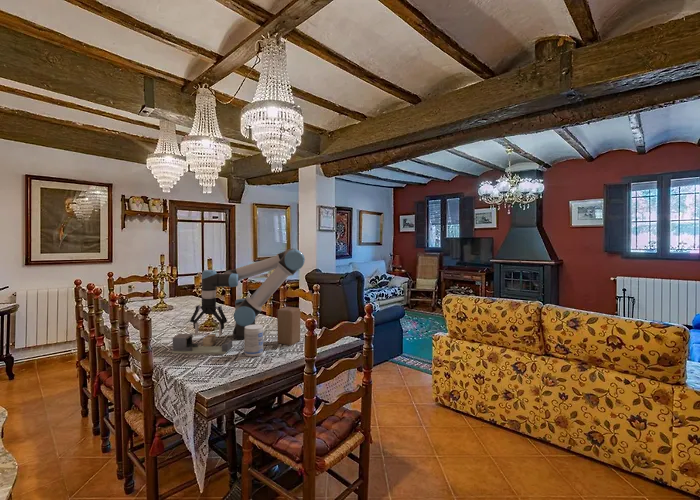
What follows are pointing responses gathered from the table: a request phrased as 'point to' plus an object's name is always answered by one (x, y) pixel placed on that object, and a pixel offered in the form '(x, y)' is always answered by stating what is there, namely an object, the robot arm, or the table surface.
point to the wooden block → (288, 325)
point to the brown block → (209, 340)
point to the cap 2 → (227, 346)
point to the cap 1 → (183, 342)
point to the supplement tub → (253, 340)
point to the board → (204, 350)
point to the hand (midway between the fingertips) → (208, 334)
